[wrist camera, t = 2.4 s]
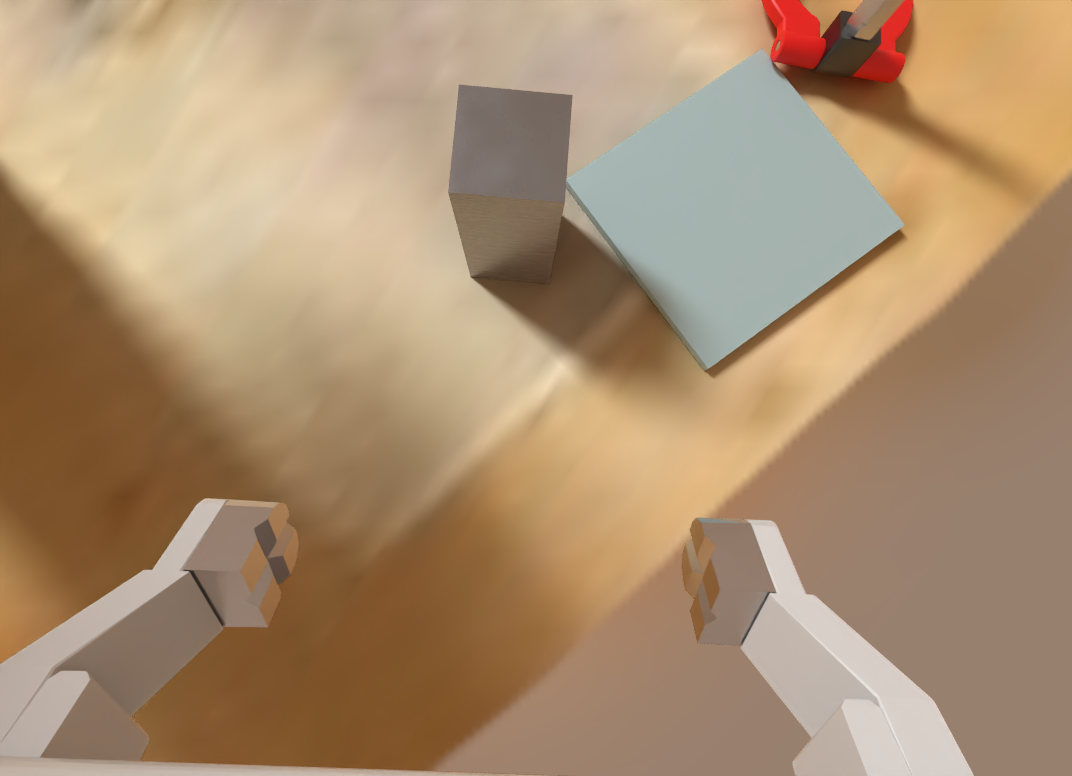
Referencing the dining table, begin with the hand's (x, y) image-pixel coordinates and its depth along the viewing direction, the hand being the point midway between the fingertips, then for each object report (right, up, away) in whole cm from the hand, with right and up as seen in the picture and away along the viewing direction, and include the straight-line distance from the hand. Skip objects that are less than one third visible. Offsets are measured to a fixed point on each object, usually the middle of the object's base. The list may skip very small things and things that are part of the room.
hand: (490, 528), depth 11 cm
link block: (0, +10, +17) cm, 20 cm away
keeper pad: (+11, +12, +17) cm, 24 cm away
